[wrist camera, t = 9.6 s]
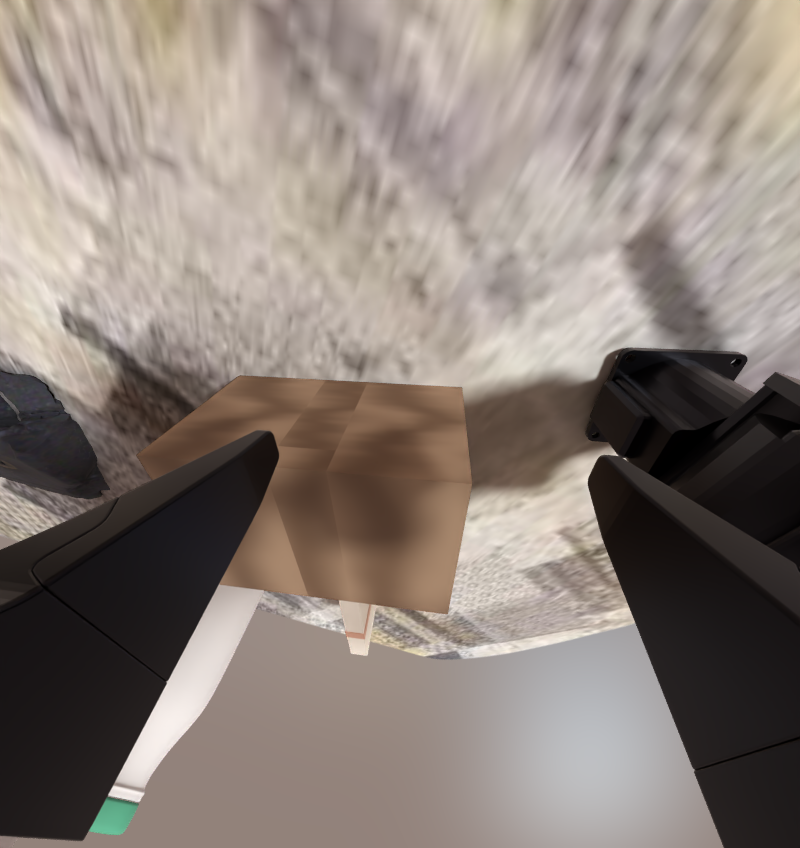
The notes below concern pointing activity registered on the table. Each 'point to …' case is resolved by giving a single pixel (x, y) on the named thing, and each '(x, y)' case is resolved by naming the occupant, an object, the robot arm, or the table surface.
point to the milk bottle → (180, 699)
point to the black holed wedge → (44, 442)
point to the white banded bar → (358, 625)
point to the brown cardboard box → (342, 486)
